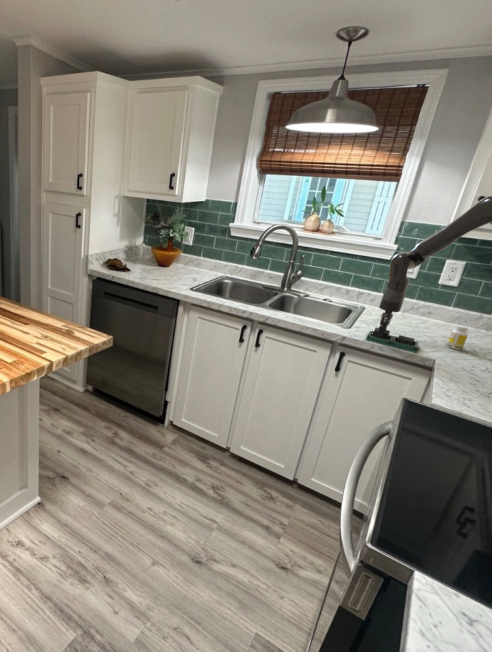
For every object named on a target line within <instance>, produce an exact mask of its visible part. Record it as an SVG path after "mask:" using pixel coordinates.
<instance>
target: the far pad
mask: <svg viewBox="0 0 492 652" xmlns="http://www.w3.org/2000/svg"><path fill="white" fill-rule="evenodd" d="M373 331H374V333H373V336H374V337H377V335H378V332H379V327H375V328H374V330H373ZM390 334H391V330H388V329H386V331H385V333H384V336H383V339H388V336H389V335H390Z"/></svg>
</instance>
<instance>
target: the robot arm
mask: <svg viewBox="0 0 492 652" xmlns="http://www.w3.org/2000/svg"><path fill="white" fill-rule="evenodd" d="M488 224H489V225H491V226H492V195H490V196H485V197H483V198H481V199H480V200H478V201H477V202H476V203H474V205H472V206H471V207H470V208H468V210H466V211H464V213H463V214H461V215H460V216H458V217H457V218H456V219H454V220H453V221H451V222H450V223H448V224H446V225H445V226H444V227H442V228H440V229H439V230H437V231H435V232H433V233H432V234H431V235H429V236H427V237H425V238H424V239H423V240H421V241H419V242H418V243H417V244H416V245H415V247H413V248H412V249H411V250H410V251H407V252H398V253H395V255H394V256H393V257H392V258H391V260H390V264H389V278H388V281H387V283H386V287H385V289H384V291H383V294H382V297H381V300H380V303H379V307H378V308H379V309H380V310H382V311H383V312H381V316H380V321H379V327H378V328H379V332H378V335H377V337H378V338H383V336H384V333H385V331H386V330H387V328H388V326H390V324H391V321H392V320H393V317H394V313H400V312H401V310H402V306H403V303H404V300H405V298H406V293H407V290H408V286H409V283H410V277H409V276H408V270H412V269H416V268H417V267H419V266H420V265H422V264H423V263H424V262H426V261H427V260H428V259H429V258H431V257H433V256H434V255H436V254H438V253H441V252H442V251H443V250H445V249H447V248H448V247H450V246H451V245H453V244H454V243H455V242H457V241H458V240H459V239H460V238H462V237H463V236H465V235H466V234H468V233H470V232H472V231H474V230H476V229H479V228H480V227H483V226H486V225H488Z"/></svg>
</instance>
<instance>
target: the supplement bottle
mask: <svg viewBox="0 0 492 652" xmlns="http://www.w3.org/2000/svg"><path fill="white" fill-rule="evenodd" d="M468 330H469V327H468V326H465V325H461V324H457V325H456V326H455V329H452V331H451V333H450V336H449V338H448V341H447V343H446V346H447V348H450V349H453V350H459V351H461V350H463V349H464V347H465V343H466V341H467V338H468V336H469V334H468Z"/></svg>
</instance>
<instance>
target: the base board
mask: <svg viewBox="0 0 492 652" xmlns="http://www.w3.org/2000/svg"><path fill="white" fill-rule="evenodd" d="M372 333H374V330H369V332H368V333H367V336H366V339H365V341H366V342H371V343H375V344H379V345H383V346H386V347H391V348H395V349H398V350H402V351H406V352H409V353H410V352H411V353H415V354H416V353H417V350H418V347H419V341H416V340H414V343H413V346H411V345H407V344H403V343H399V342H397V340H398V337H399V336H395V335H392V334H391V335H390V334H389V336H388V339H383V338H378V337H374V336H373V334H372Z"/></svg>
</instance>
